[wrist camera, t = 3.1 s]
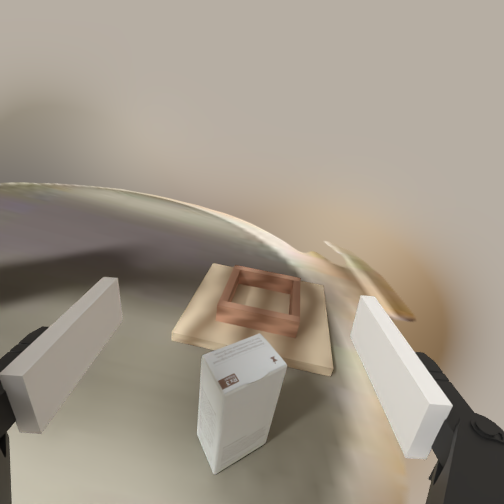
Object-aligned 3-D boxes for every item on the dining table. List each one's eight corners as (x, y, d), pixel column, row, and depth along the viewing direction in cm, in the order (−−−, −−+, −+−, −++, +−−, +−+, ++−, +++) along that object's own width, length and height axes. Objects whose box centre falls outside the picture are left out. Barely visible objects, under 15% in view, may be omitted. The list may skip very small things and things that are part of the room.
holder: (171, 340, 39) (171, 315, 37) (212, 269, 57) (214, 249, 55) (330, 376, 37) (339, 352, 35) (321, 291, 55) (327, 272, 53)
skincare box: (244, 409, 32) (260, 327, 26) (267, 446, 29) (291, 363, 23) (193, 436, 28) (199, 350, 23) (212, 482, 25) (224, 394, 20)
